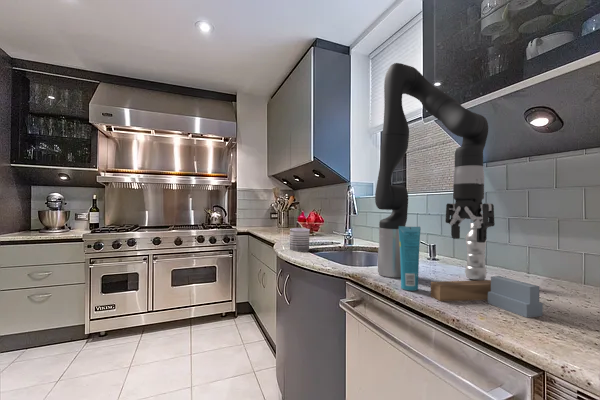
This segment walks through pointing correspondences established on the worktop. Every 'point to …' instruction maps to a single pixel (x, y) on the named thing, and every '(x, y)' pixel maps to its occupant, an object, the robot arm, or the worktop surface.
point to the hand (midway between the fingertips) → (467, 240)
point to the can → (299, 239)
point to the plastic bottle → (475, 255)
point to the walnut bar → (460, 290)
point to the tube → (409, 256)
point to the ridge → (515, 296)
